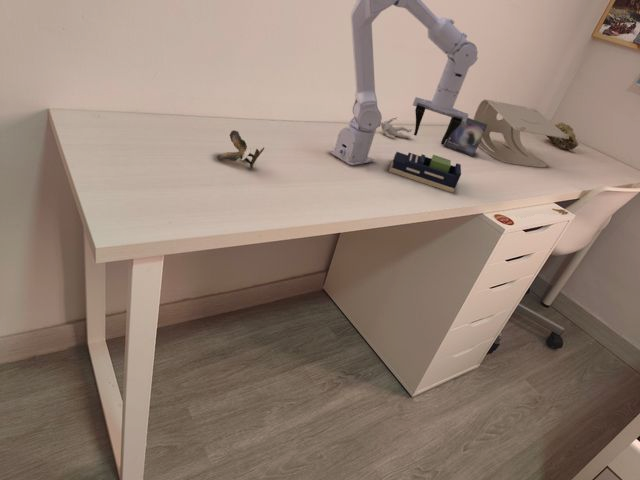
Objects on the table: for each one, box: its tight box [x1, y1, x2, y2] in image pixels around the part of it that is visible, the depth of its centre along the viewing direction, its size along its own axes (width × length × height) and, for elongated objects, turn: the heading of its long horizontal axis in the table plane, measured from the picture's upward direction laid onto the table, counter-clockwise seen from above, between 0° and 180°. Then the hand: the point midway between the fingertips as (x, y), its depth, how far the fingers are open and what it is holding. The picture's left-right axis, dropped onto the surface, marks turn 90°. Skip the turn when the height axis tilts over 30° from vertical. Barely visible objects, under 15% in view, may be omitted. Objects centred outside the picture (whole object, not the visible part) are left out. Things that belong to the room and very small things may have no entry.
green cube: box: [428, 154, 452, 173], centre depth 122 cm, size 5×5×5 cm
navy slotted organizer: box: [388, 151, 462, 194], centre depth 123 cm, size 18×8×6 cm, turn 75°
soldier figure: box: [376, 116, 412, 139], centre depth 150 cm, size 8×5×12 cm
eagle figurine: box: [216, 129, 265, 170], centre depth 101 cm, size 8×7×9 cm
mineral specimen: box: [545, 121, 580, 150], centre depth 197 cm, size 14×13×10 cm
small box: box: [443, 117, 487, 158], centre depth 153 cm, size 11×6×10 cm, turn 68°
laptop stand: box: [472, 99, 570, 168], centre depth 164 cm, size 26×24×16 cm
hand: (428, 138), depth 122 cm, fingers open, 7 cm apart
